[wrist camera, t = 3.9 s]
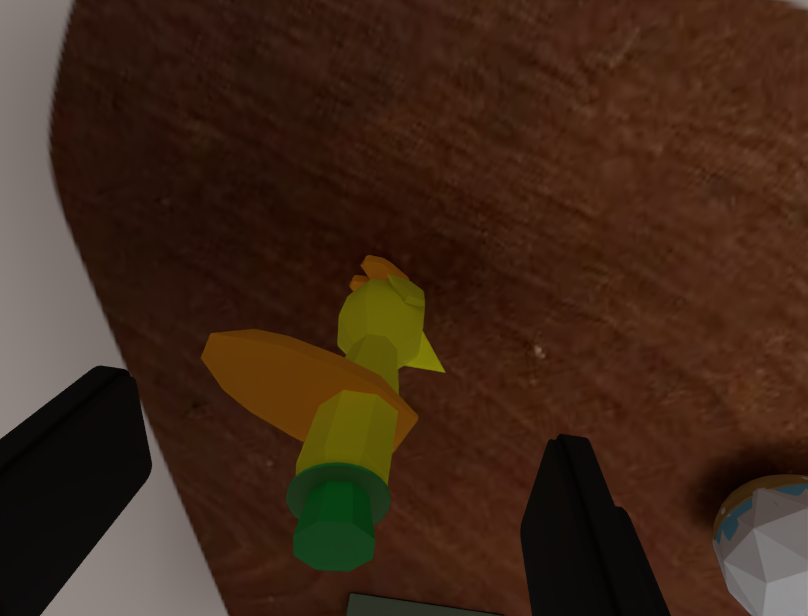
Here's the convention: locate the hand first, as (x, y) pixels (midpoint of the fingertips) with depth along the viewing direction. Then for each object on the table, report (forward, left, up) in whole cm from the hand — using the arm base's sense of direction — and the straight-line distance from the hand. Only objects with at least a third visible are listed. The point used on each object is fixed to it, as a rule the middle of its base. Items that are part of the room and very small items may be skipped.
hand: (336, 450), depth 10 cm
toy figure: (0, 0, -10) cm, 10 cm away
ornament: (+20, -9, -10) cm, 24 cm away
